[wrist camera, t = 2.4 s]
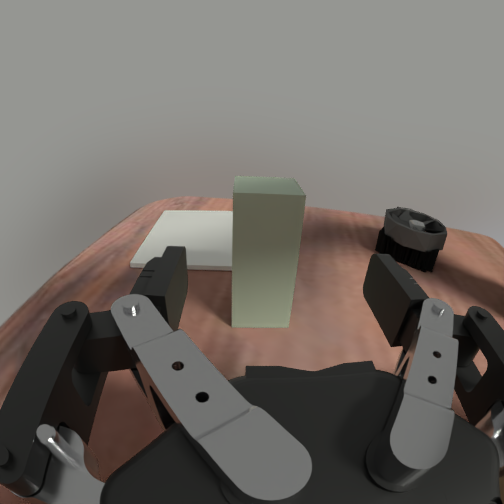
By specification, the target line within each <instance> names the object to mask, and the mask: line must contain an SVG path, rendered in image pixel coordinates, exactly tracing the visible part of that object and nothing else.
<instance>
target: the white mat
mask: <svg viewBox="0 0 504 504" xmlns="http://www.w3.org/2000/svg"><path fill="white" fill-rule="evenodd" d="M232 227H233V211H164V212H163V214H162V215H161V217H160V218H159V219H158V221H157V222H156V224H155V225H154V227H153V228H152V230H151V231H150V233H149V234H148V236H147V237H146V239H145V240H144V242H143V243H142V245H141V246H140V248H139V249H138V251H137V253H136V254H135V256H134V257H133V259H132V260H131V262H130V267H134V268H144V267H145V265H146V263H147V262H148V261H150V260H151V259H153V258H154V257H162V255H163V253H164V251H165V249H166V247H167V246H185V248H186V258H187V269H191V270H227V271H232Z"/></svg>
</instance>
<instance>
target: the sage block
mask: <svg viewBox="0 0 504 504" xmlns="http://www.w3.org/2000/svg"><path fill="white" fill-rule="evenodd" d="M305 199H306V195H305V194H304V192H303V190H302V189H301V188H300V186H299V185H298V183H297V182H296V180H295V179H293V178H276V177H252V176H235V182H234V190H233V227H232V327H240V328H288V327H289V321H290V314H291V308H292V301H293V294H294V287H295V280H296V273H297V266H298V258H299V250H300V243H301V234H302V226H303V218H304V209H305Z"/></svg>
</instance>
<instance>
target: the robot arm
mask: <svg viewBox="0 0 504 504" xmlns="http://www.w3.org/2000/svg"><path fill="white" fill-rule="evenodd" d="M187 290H188V274H187V258H186V248H185V246H167V247H166V249H165V251H164V253H163V255H162V257H154V258H153V259H151V260H150V261H148V262H147V263H146V265H145V267H144V268H143V271H142V272H141V274H140V276H139V277H138V279H137V281H136V283H135V285H134V287H133V289H132V291H131V292H130V294H129V295H126V296H123V297H120V298H119V299H117V300H116V301H115V302H114V303H113V304H112V306H111V310H109V311H103V312H95V313H89V310H88V307H87V306H86V305H85V304H84V303H82V302H78V301H71V302H67V303H64V304H62V305H60V306H59V307H57V308H56V309H55V310H54V312H53V313H52V315H51V316H50V318H49V319H48V321H47V323H46V324H45V326H44V328H43V329H42V331H41V333H40V334H39V336H38V338H37V339H36V341H35V343H34V344H33V346H32V348H31V350H30V352H29V353H28V355H27V357H26V359H25V361H24V362H23V364H22V366H21V368H20V370H19V372H18V374H17V376H16V378H15V380H14V382H13V384H12V386H11V388H10V390H9V392H8V394H7V396H6V398H5V401H4V403H3V405H2V407H1V409H0V484H2V485H3V486H5V487H6V488H8V489H9V490H10V491H11V492H12V493H14V494H15V495H17V496H18V497H20V498H22V499H23V500H25V501H27V502H28V503H30V504H503V503H502V500H501V495H500V485H499V477H503V476H504V330H503V329H502V328H501V327H500V325H499V324H498V323H497V321H496V320H495V319H494V318H493V316H492V315H491V314H490V313H489V312H488V311H487V310H485V309H483V308H481V307H478V306H472V307H470V308H469V309H468V311H467V313H466V315H465V316H461V315H455V314H454V312H453V310H452V308H451V307H450V306H449V305H448V304H447V303H445V302H444V301H442V300H439V299H435V298H429V297H428V296H427V294H426V293H425V292H424V291H423V290H422V288H421V287H420V286H419V285H418V284H417V282H416V281H415V280H414V279H413V277H412V276H411V275H410V274H409V273H408V271H406V270H405V269H404V268H402V267H401V266H399V265H398V264H397V263H396V261H395V260H394V259H393V258H392V257H391V256H390V255H389V254H373V255H372V256H371V258H370V262H369V266H368V270H367V273H366V277H365V281H364V285H363V294H364V298H365V299H366V301H367V303H368V305H369V307H370V308H371V310H372V312H373V314H374V316H375V318H376V320H377V321H378V323H379V325H380V327H381V329H382V331H383V333H384V335H385V337H386V338H387V340H388V342H389V344H390V346H391V347H396V346H403V349H402V351H401V353H400V355H399V358H398V361H397V364H396V367H395V369H394V372H393V374H392V373H389V372H385V371H381V370H376V369H375V367H374V364H373V362H372V361H364V362H353V363H343V364H340V365H337V366H333V367H330V368H326V369H323V370H319V371H306V370H299V369H293V368H287V367H282V366H246V372H245V376H241V377H237V378H233V379H230V380H228V381H227V380H226V379H225V378H224V376H223V375H222V374H221V373H220V372H219V371H218V370H217V369H216V368H215V367H214V365H213V364H212V363H211V362H210V361H209V360H208V359H207V358H206V356H205V355H204V354H203V353H202V352H201V351H200V350H199V348H198V347H197V346H196V345H195V344H194V343H193V341H192V340H191V339H190V338H189V337H188V336H187V334H186V333H185V332H184V331H183V330H181V329H178V326H179V322H180V318H181V314H182V310H183V306H184V303H185V299H186V295H187ZM479 349H480V350H481V351H482V353H483V354H484V356H485V357H486V359H487V362H488V367H487V370H486V372H485V374H484V375H483V376H481V374H480V372H479V371H478V369H477V367H476V365H475V364H474V362H473V359H474V357H475V356H476V354H477V353H478V351H479ZM125 369H129V370H130V372H131V374H132V376H133V378H134V379H135V381H136V383H137V385H138V386H139V388H140V390H141V392H142V393H143V395H144V397H145V399H146V400H147V402H148V404H149V405H150V407H151V409H152V411H153V413H154V415H155V417H156V419H157V421H158V422H159V424H160V426H161V427H162V429H163V430H164V432H163V433H162V434H161V435H159V436H158V437H157V438H156V439H155V440H153V441H152V442H151V443H150V444H148V445H147V446H146V447H145V448H144V449H142V450H141V451H140V452H139V453H137V454H136V455H135V456H134V457H132V458H131V459H130V460H128V461H127V462H126V463H125V464H123V465H122V466H121V467H119V468H118V469H117V470H116V471H114V472H113V473H112V474H111V475H110V477H109V478H108V479H107V481H106V482H105V483H103V482H101V480H100V477H99V472H98V469H99V465H98V460H97V457H96V456H95V454H94V453H93V452H92V450H91V449H90V448H89V447H88V441H89V437H90V433H91V429H92V425H93V422H94V418H95V414H96V411H97V407H98V403H99V400H100V396H101V393H102V390H103V386H104V383H105V380H106V377H107V374H108V372H109V371H117V370H125ZM454 390H455V392H456V394H457V396H458V398H459V400H460V402H461V404H462V407H463V409H464V411H465V413H466V416H467V418H468V420H469V422H467V421H466V420H464V419H463V418H461V417H459V416H458V415H456V414H455V413H454V410H452V408H451V405H452V398H453V392H454Z"/></svg>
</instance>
